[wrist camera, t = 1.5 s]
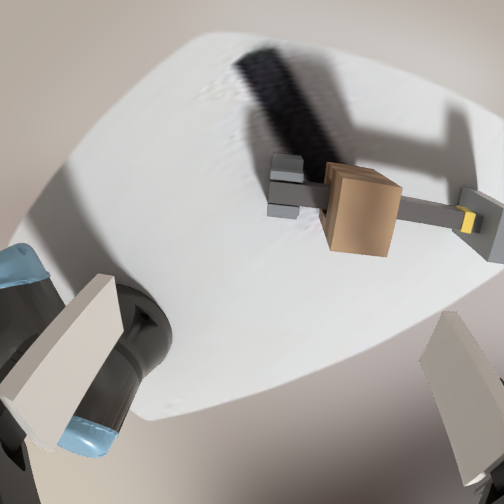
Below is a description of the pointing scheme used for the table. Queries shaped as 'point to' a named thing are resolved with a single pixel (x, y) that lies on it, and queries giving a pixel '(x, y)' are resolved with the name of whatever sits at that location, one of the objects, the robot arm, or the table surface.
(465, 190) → the rod rig
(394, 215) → the wooden block on rod
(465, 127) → the table surface
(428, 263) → the table surface
